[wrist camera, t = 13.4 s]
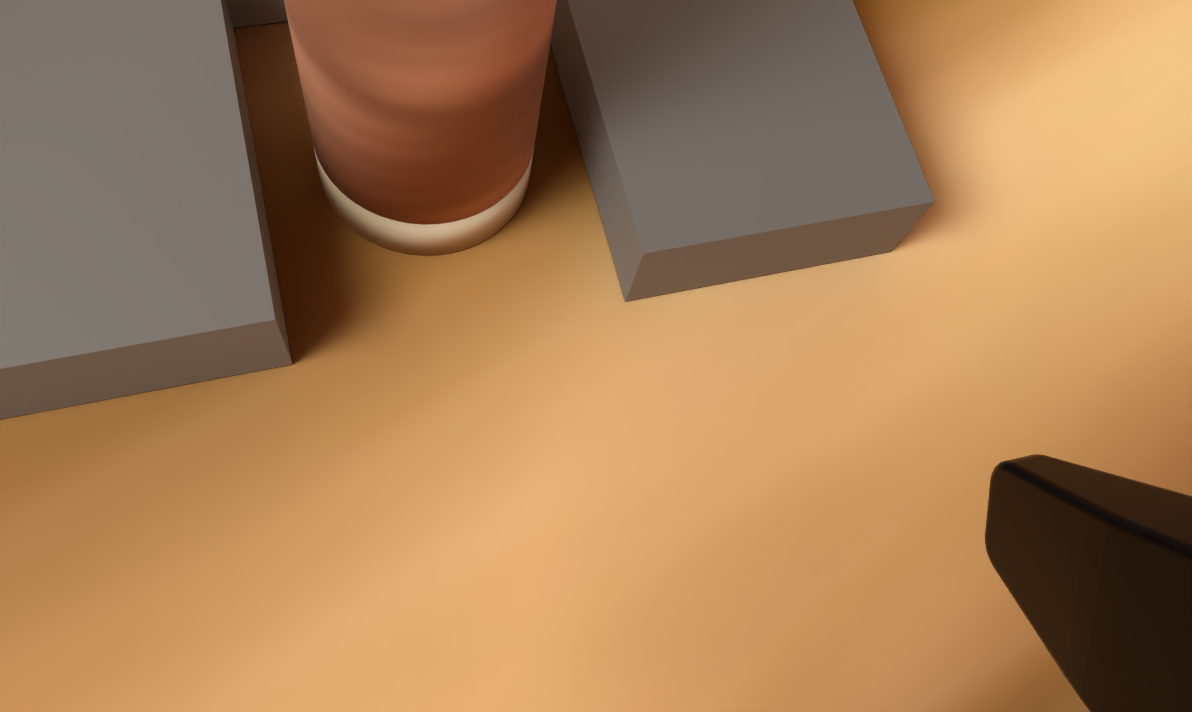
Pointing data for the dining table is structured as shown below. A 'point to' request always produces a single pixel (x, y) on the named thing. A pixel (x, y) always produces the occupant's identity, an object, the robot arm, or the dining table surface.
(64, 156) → the notched board
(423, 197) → the bobbin
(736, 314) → the dining table surface
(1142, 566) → the robot arm
